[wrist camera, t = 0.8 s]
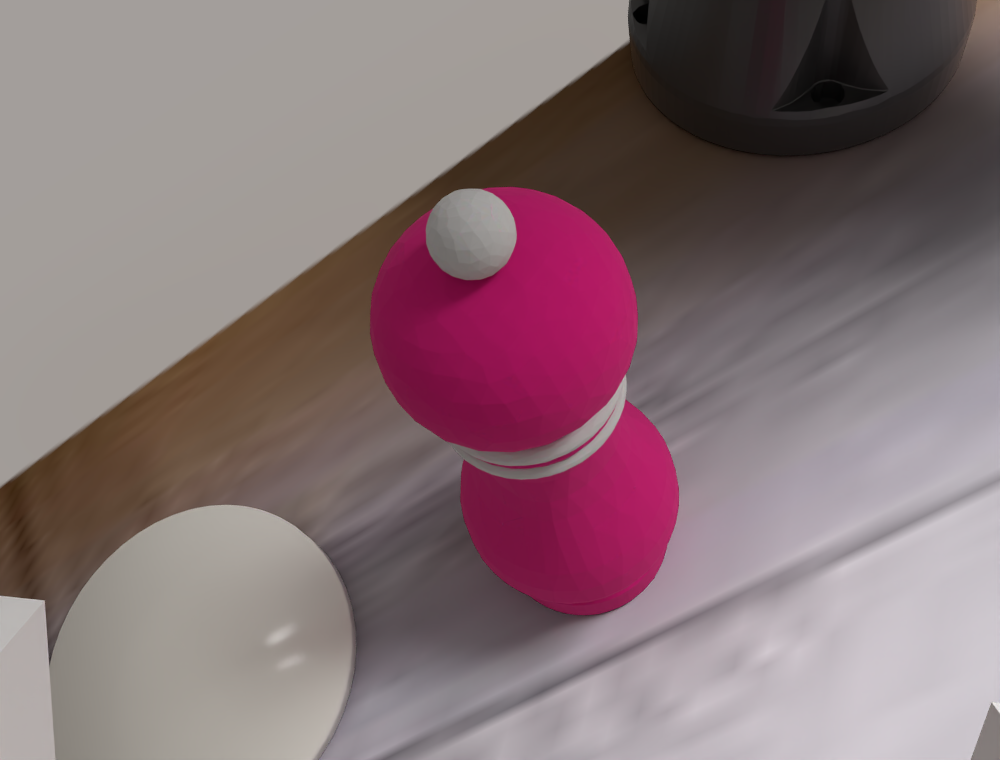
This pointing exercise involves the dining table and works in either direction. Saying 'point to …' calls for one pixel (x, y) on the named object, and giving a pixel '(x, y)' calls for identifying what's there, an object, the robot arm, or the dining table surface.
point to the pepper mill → (530, 391)
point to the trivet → (206, 645)
